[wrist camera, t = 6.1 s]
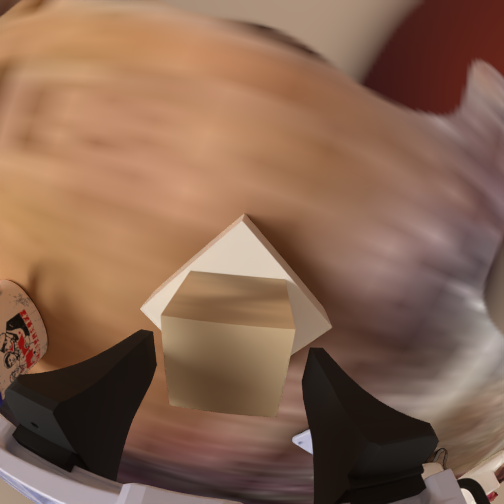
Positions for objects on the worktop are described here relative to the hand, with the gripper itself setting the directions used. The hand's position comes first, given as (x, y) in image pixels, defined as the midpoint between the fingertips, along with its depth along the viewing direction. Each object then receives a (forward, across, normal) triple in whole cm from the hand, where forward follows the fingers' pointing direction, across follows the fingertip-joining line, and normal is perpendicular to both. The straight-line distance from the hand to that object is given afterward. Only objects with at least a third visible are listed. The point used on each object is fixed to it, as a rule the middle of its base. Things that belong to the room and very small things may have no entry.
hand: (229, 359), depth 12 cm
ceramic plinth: (+7, 0, 0) cm, 7 cm away
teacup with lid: (+6, +21, +4) cm, 23 cm away
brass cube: (+4, 0, 0) cm, 4 cm away
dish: (+7, -58, +49) cm, 76 cm away
